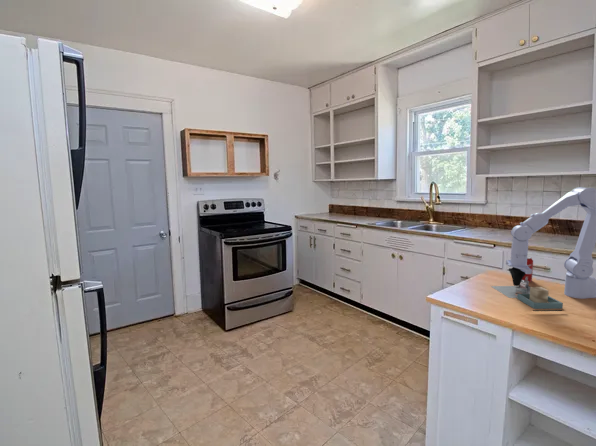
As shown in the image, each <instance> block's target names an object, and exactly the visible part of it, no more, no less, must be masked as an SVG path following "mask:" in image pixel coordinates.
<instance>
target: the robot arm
mask: <svg viewBox="0 0 596 446" xmlns="http://www.w3.org/2000/svg"><path fill="white" fill-rule="evenodd" d="M573 206H574V207H575V206H581V208H582V209H583V210H584V211H585V212H586V215H585V218H584V220H583V223H582V226H581V229H580V232H579V236H578V238H577V241H576V245H575V248H574V250H573V251H572V252H571V253H569V256H568V257H567V259H566V260H564V263H563V265H564V269H565V270H566V273H565V277H564V278H565V280H564V291H563V294H564V296H567V297H569V298H573V299H574V298H575V299H584V300H585V299H596V278H595V277H594V276H592V275H593V273H594V267H593V264H594V257H593V256H592V255H593V251H594V249H595V246H596V188H595V187H584V186H578V187H575V188H573V189H572V190H571V191H569V192H566V193H565V194H564V195H563V196H562V197H561V198H559V199H558V200H556V201H555V202H553V204H552V205H550V206H549V207H547V208H546V209H545V210H544V211H543V212H535V213H531V214H530V215H529V217H528V218H527V219H526V220H524V221H523V222H522V221H521V222H519V224H520V225H519V224H518V225H515V226H513V228H512V229H511V231H510V235H511V237H512V240H511V241H512V242H511V250H510V259H506V260H505V265H506V266H508V267H510V268H508V271H509V273H510V276H511V279H512V284H513V285H512V286H519V285H520V283H521V280H522V278H523V277H524V275H525V274H532V275H533V273H532V269H530V268H529V267H528V266H527V256H529V255H528V253H529V240H530V239H531V238H532V237H533V236H532V235H533V234H534V233H536V232H537V231H539V230H541V229H542V228H544V227H545V226H546V225H547V224H549V219H551V218H552V217H554V216H556V215H557V214H559V213H561V212H562V211H563V210H565V209H567V208H569V207H573Z"/></svg>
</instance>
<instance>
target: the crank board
mask: <svg viewBox="0 0 596 446" xmlns="http://www.w3.org/2000/svg"><path fill="white" fill-rule="evenodd" d="M490 287H491V288H493V289H494V290H496V291H497V292H499V293H501V294H502V295H504V296H506V297H507V298H509V299H517V295H518V294H519V293H515V291H516V286H514V285H492V286H491V285H490ZM518 287H519V286H518ZM530 287H531V286H528V288H527V292H526V294H530Z"/></svg>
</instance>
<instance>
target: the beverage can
mask: <svg viewBox="0 0 596 446" xmlns="http://www.w3.org/2000/svg"><path fill="white" fill-rule="evenodd" d="M527 266H528V267H529V268H530V269H532V274H525V275H524V277H523V278H522V280H527V281H529V283H531V282H532V281H533V273H534V269H533V268H534V260H533V257H532V256H529V255H527Z"/></svg>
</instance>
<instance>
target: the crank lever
mask: <svg viewBox="0 0 596 446" xmlns="http://www.w3.org/2000/svg"><path fill="white" fill-rule="evenodd" d="M529 284H530V282H529V281H527V280H521V283H520V285H519V287H518V286H516V291H515V293H519V294H526V292H527V288H528V286H529Z"/></svg>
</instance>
